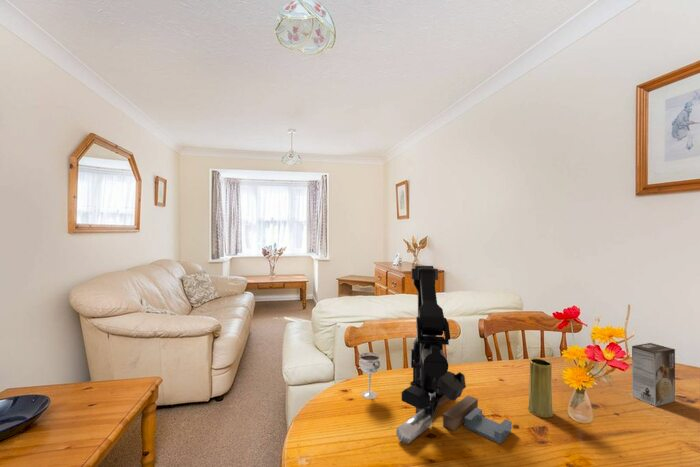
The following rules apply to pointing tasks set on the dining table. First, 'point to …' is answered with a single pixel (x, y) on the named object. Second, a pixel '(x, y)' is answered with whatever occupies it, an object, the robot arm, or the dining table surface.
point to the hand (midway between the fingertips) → (430, 419)
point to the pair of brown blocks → (456, 411)
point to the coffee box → (653, 373)
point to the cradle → (487, 426)
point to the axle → (414, 427)
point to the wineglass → (369, 370)
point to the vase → (540, 388)
